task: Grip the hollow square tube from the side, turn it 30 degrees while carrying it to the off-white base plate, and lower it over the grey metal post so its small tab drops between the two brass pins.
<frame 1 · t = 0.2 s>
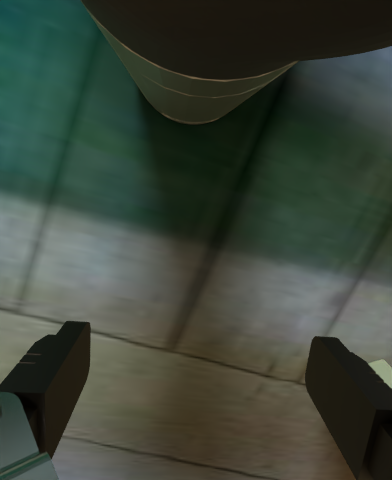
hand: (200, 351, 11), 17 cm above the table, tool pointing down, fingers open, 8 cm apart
hollow square tube: (358, 388, 34), on the table
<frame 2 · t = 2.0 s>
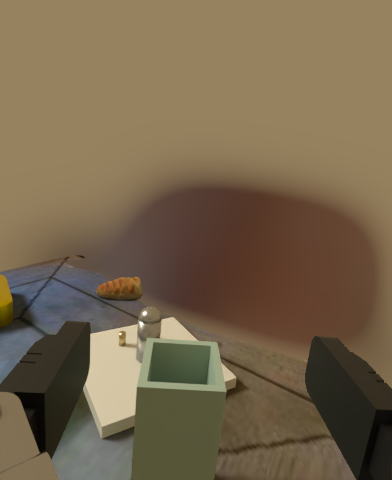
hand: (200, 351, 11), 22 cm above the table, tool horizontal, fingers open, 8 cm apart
base plate: (146, 366, 45), on the table
pastry: (122, 296, 68), on the table
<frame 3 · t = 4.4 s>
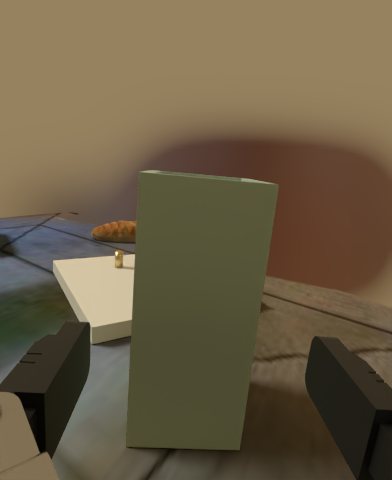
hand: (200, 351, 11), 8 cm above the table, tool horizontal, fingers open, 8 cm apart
hollow square tube: (182, 406, 19), on the table
base plate: (148, 288, 37), on the table
pastry: (121, 241, 60), on the table
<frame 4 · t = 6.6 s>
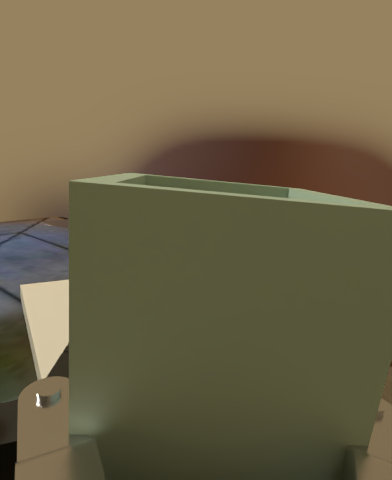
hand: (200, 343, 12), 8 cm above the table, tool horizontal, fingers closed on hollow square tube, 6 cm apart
base plate: (140, 322, 29), on the table
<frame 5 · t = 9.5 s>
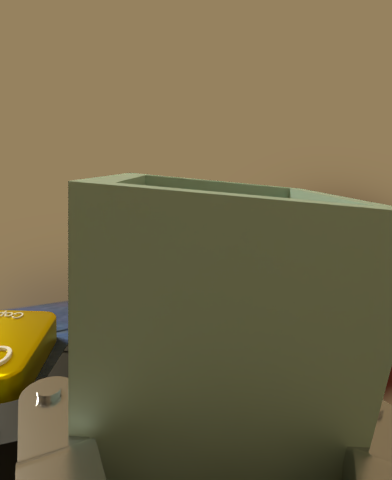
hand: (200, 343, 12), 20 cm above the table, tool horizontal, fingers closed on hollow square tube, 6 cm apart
when the fingers open (10 cm above the table, at t = 12.5 s): hollow square tube stays where it is, resting on base plate.
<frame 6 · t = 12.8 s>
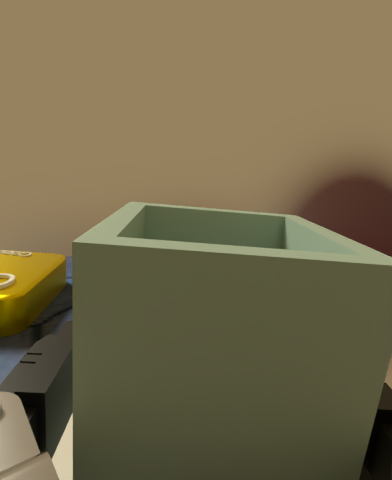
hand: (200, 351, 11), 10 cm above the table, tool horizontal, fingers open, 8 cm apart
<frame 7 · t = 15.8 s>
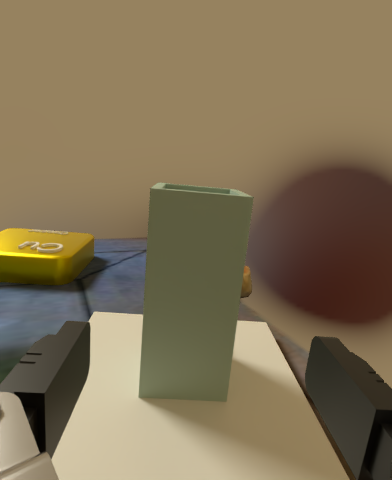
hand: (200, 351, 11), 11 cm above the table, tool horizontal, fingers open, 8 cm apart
element tile: (35, 268, 49), on the table
hollow square tube: (182, 371, 24), point 1 cm above the table, touching base plate
base plate: (179, 389, 24), on the table
pastry: (222, 290, 46), on the table
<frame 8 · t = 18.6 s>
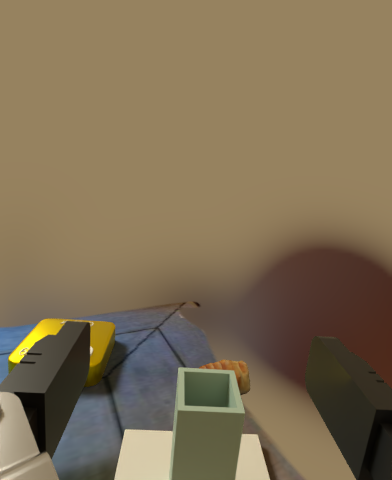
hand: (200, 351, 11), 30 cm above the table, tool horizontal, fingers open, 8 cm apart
element tile: (67, 360, 58), on the table
pastry: (225, 384, 55), on the table
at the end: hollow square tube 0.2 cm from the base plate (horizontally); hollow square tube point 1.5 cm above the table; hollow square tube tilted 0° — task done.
